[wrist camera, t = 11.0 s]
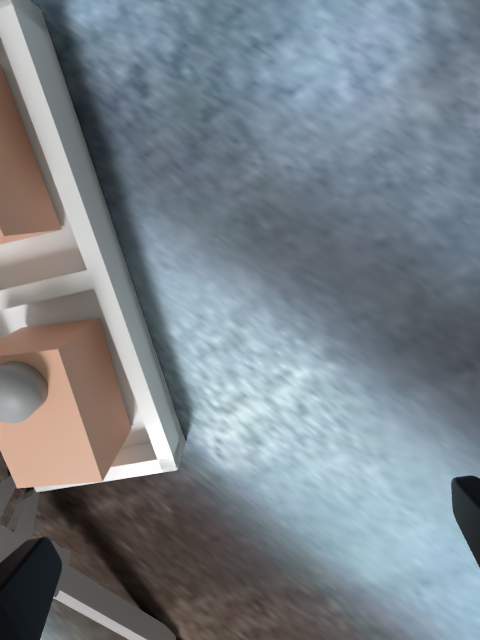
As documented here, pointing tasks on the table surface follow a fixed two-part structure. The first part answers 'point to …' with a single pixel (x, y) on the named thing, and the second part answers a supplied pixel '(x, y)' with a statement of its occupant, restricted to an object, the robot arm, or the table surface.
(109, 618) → the caliper
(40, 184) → the block
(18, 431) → the orange block with knob
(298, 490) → the table surface
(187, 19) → the table surface
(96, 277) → the housing
